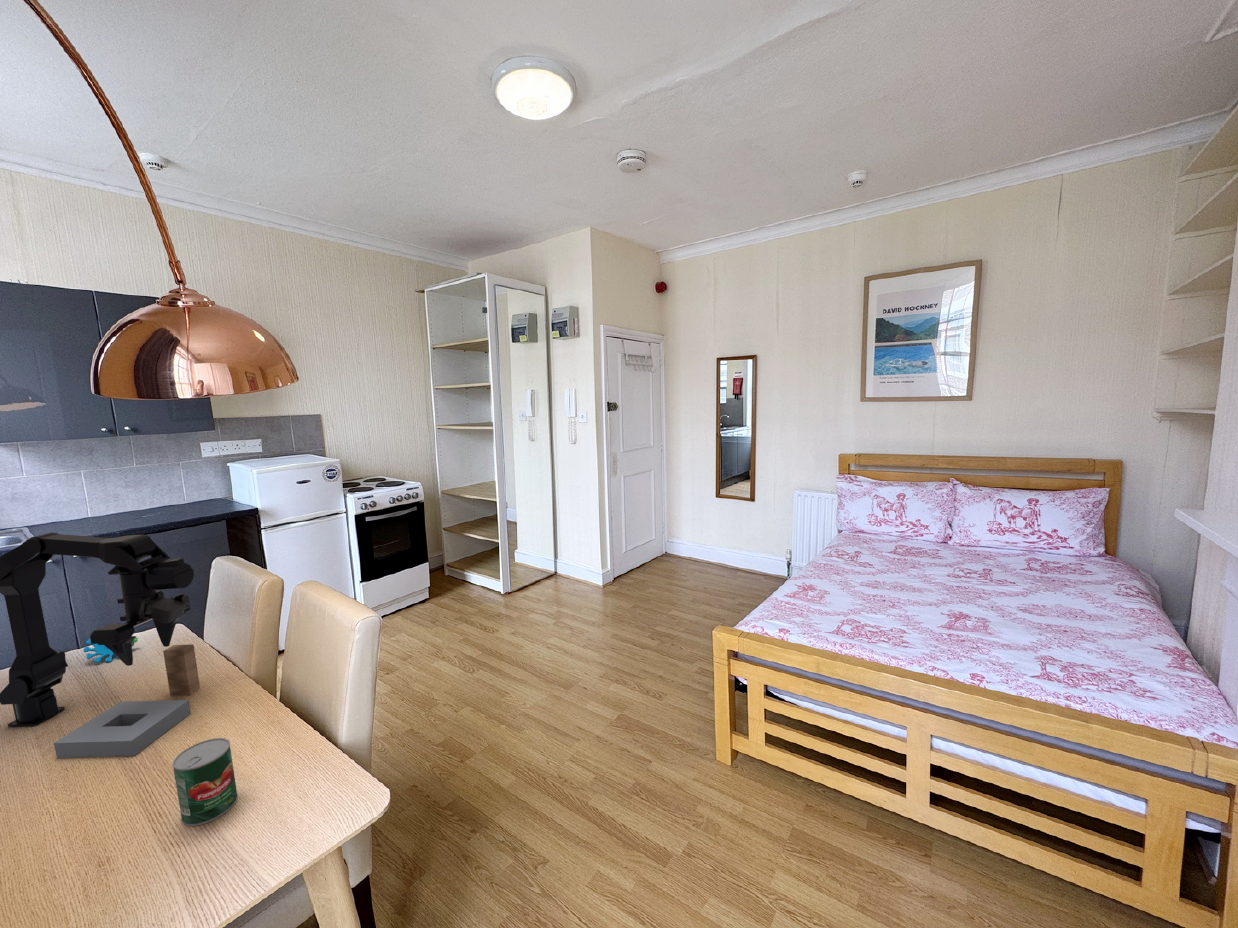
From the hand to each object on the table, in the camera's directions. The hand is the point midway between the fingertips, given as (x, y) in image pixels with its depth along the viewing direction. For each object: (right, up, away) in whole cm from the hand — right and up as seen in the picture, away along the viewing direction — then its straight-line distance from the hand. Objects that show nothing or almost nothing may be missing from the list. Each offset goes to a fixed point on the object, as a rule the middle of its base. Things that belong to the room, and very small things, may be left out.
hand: (148, 655), depth 116 cm
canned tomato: (+36, -18, -26) cm, 48 cm away
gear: (-38, -12, +29) cm, 49 cm away
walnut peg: (0, -13, +10) cm, 17 cm away
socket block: (+1, -15, -6) cm, 16 cm away
